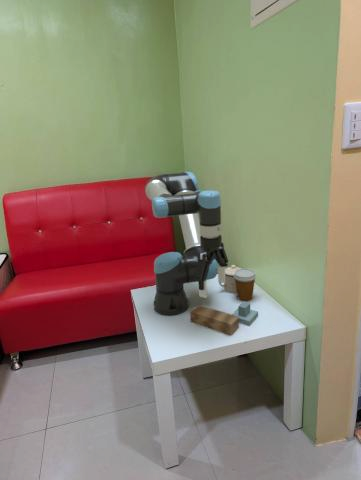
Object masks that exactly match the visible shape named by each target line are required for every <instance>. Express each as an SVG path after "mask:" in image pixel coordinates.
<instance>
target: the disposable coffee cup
mask: <svg viewBox="0 0 361 480" xmlns="http://www.w3.org/2000/svg"><path fill="white" fill-rule="evenodd" d="M234 278H235V282H236V289H237V293H236V295H237V299H238V300H239V301H242V302H243V301H244V302H249V301H251V300H252V299H253V295H254V287H255V280H256V278H257V274H256V272H255V271H254V270H253V269H251V268H241V269H239V270H236V271H235V274H234Z"/></svg>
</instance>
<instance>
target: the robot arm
mask: <svg viewBox="0 0 361 480" xmlns="http://www.w3.org/2000/svg"><path fill="white" fill-rule="evenodd" d="M196 177H197V176H196V175H195V174H194V173H193V172H191V171H182V172H174V173H161V174H158V175H155V176H153V177H152V178H150V179H149V180H148V181H147V182H146V184H145V186H144V192H145V195H146V197H147V198H148V199H149V200H150V201H151V207H152V214H153V217H155V218H158V219H161V218H168V217H178V218H179V223H180V228H181V232H182V235H183V241H184V245H185V249H184V251H183V255H182V254H181V252H177V251H170V252H165V253H163V254H160V255H158V256H157V257H156V258H155V259H154V262H153V271H154V272H153V273H154V278H155V279H154V280H155V291H156V292H155V295H154V300H153V309H154V311H155V312H156V313H157V314H159V315H163V316H176V315H180V314H183V313H184V312H186V311H187V310H188V309H189V307H190V300H189V297H188V296H187V292H186V291H185V289H184V284H189V283H196V282H197V283H198V291H199V293H198V295H199V297H200V298H204V299H207V298H208V292H207V291H208V289H207V287H208V286H207V281H209V280H212V279H215V278H216V276H217V280H218V283H219V282H221V284H222V283H223V284H224V283H225V269H226V267H228V265H229V259H228V256H227V253H226V250H225V246H224V243H223V241H222V238H223V237H222V235H221V234H222V213H221V212H222V209H221V208H222V207H221V205H222V200H221V194H220V191H217V190H212V189H211V190H199V183H198V180H197V178H196Z"/></svg>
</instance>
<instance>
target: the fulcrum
mask: <svg viewBox="0 0 361 480" xmlns="http://www.w3.org/2000/svg"><path fill="white" fill-rule="evenodd" d="M231 315H234V316H238V317H239V324H242V325H247V326H248V327H249V326H250V325H252V323H253V322H255V320H256V319H257V318H258V317H259V311H257V310H254V309H251V303H250V302H249V301H242V302H241V303H239V305H238V308H237V309H236V310H235V311H234V312H233V313H231Z"/></svg>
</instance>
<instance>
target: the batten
mask: <svg viewBox="0 0 361 480" xmlns="http://www.w3.org/2000/svg"><path fill="white" fill-rule="evenodd" d="M189 316H190V318H189V319H190V323H193V324H195V325H199V326H202V327H204V328H207V329H210V330H213V331H216V332H219V333H222V334H226V335H228V336H232V335H233V334H234V333H235V332H236V331H237V330H238V329H240V328H239V327H240V323H239V317H238V316H234V315H232V313H228V312H227V313H226V312H224V311H222V310H221V311H220V310H218V309H214V308H210V307H207V306H204V305H201V304H198V305H196V306H195V307H194V308H193V309H191V310H190V311H189Z"/></svg>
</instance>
